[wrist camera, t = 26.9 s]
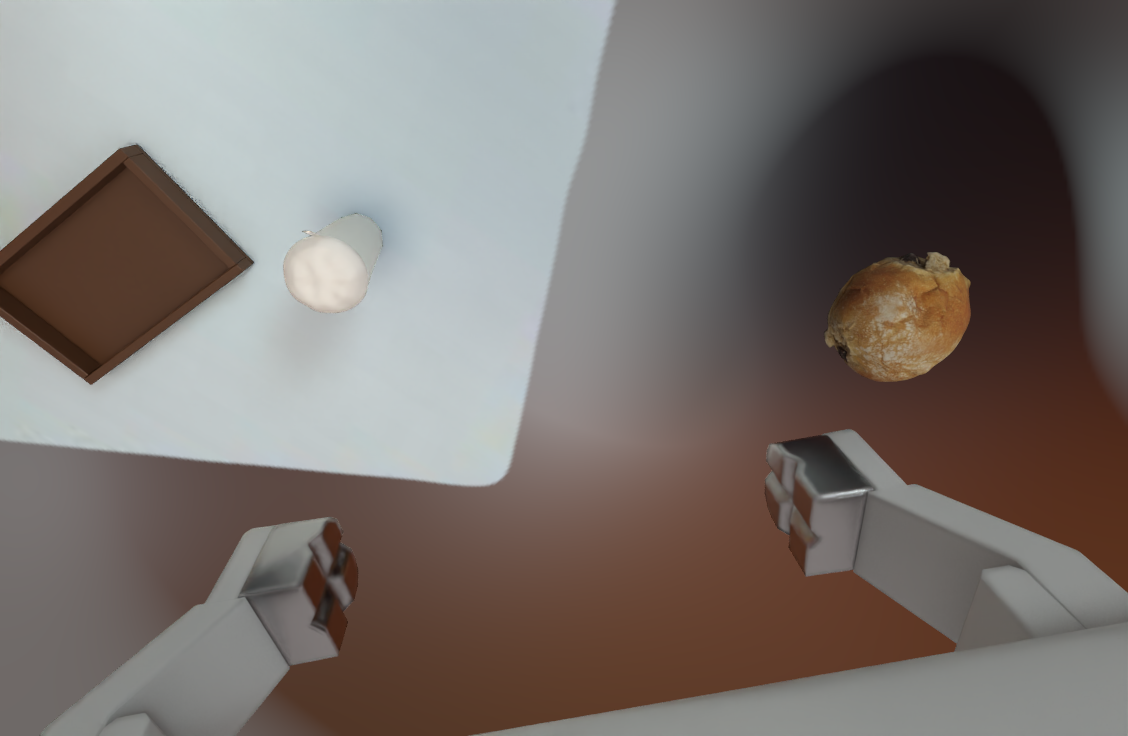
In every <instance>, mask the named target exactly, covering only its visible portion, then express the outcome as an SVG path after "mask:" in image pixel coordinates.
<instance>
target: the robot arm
mask: <svg viewBox="0 0 1128 736" xmlns="http://www.w3.org/2000/svg"><path fill="white" fill-rule="evenodd" d="M766 462H767V463H768V465H769V466H770V468H771V469H772V472H771V473H770V474H769V475H768V477H767V478H766V479H765V496H766V502H767V507H768V510H769V512H770V515H771V517H772V519H773V521H774V523H775V525H776V526H777V528H778V529H779V530H781V531H783V532H785V533H786V534H788V535H789V549H790V551H791V552H792V554H793V556H794V557H795V559H796V561H797V562H798V564H799V566H800V567H801V569H802V571H803V572H804V574H805V576H812V575H818V574H826V573H832V572H840V571H846V570H854V572H855V573H856V574H857V575H859V576H860V577H862V578H863V579H864V580H866V581H867V582H869V583H870V584H872V585H874V586H875V587H876V588H877V589H879V590H880V591H882V592H883V593H885V594H886V595H888V596H889V597H891V598H892V599H893V600H895V601H896V602H898V603H899V604H901V605H902V606H903V607H905V608H906V609H908V610H909V611H911V612H912V613H914V614H915V615H917V616H918V617H919V618H921V619H922V620H924V621H925V622H927V623H928V624H930V625H931V626H932V627H934V628H935V629H937V630H938V631H940V632H941V633H943V634H944V635H945V636H947V637H948V638H950V639H951V640H953V641H954V642H955V643H957V645H956V648H955V651H954V652H951V653H946V654H940V655H933V656H928V657H922V658H916V659H910V660H904V661H899V662H893V663H887V664H881V665H876V666H870V667H864V668H858V669H852V670H846V671H841V672H835V673H829V674H823V675H817V676H812V677H806V678H800V679H795V680H789V681H783V682H777V683H772V684H766V685H760V686H755V687H749V688H743V689H737V690H732V691H726V692H720V693H715V694H709V695H703V696H697V697H692V698H686V699H680V700H674V701H669V702H663V703H657V704H651V705H646V706H640V707H635V708H628V709H623V710H617V711H612V712H605V713H599V714H593V715H588V716H582V717H576V718H570V719H564V720H559V721H553V722H548V723H541V724H535V725H529V726H524V727H519V728H512V729H506V730H501V731H495V732H489V733H483V734H478V735H472V736H1128V593H1127V592H1126V591H1124V589H1122V588H1121V587H1120V586H1119V585H1118V584H1116V583H1115V582H1114V581H1113V580H1112V579H1111V578H1109V577H1108V576H1107V575H1106V574H1105V573H1103V572H1102V571H1101V570H1100V569H1099V568H1098V567H1096V566H1095V565H1094V564H1093V563H1092V562H1091V561H1090V560H1088V559H1087V558H1086V557H1085V556H1084V555H1083V554H1081V553H1080V552H1079V551H1077V550H1074V549H1072V548H1069V547H1067V546H1065V545H1062V544H1060V543H1057V542H1055V541H1052V540H1050V539H1047V538H1045V537H1043V536H1040V535H1038V534H1036V533H1033V532H1030V531H1028V530H1026V529H1023V528H1021V527H1018V526H1016V525H1014V524H1011V523H1009V522H1006V521H1004V520H1001V519H999V518H997V517H994V516H992V515H989V514H987V513H985V512H982V511H980V510H977V509H975V508H972V507H970V506H968V505H965V504H963V503H960V502H958V501H955V500H952V499H951V498H948V497H946V496H943V495H941V494H938V493H936V492H933V491H931V490H929V489H926V488H924V487H921V486H919V485H917V484H913V485H906V484H905V483H904V482H903V481H902V479H900V477H899V476H898V475H897V474H896V473H895V472H894V471H893V470H892V469H891V468H890V467H889V466H888V465H887V464H886V463H885V462H884V461H883V460H882V459H881V458H880V457H879V456H878V455H877V454H876V453H875V451H874V450H873V449H872V448H871V447H870V446H869V445H868V444H867V443H866V442H865V441H864V440H863V439H862V438H861V437H860V436H859V435H858V434H857V433H856V432H855V431H852V430H850V429H847V430H842V431H837V432H831V433H826V434H822V435H818V436H812V437H807V438H801V439H795V440H789V441H783V442H778V443H772V444H769V447H768V449H767V456H766ZM342 534H343V530H342V528H341V526H340V524H339V522H338V520H337V519H335V518H332V517H328V518H320V519H313V520H307V521H300V522H292V523H285V524H279V525H276V526H268V527H261V528H255V529H251V530H249V531H248V532H246V533H245V534H244V535H243V536H242V538H241V540H240V542H239V543H238V545H237V547H236V549H235V551H234V552H233V554H232V556H231V558H230V560H229V561H228V563H227V565H226V567H225V568H224V570H223V572H222V574H221V575H220V577H219V579H218V581H217V583H216V584H215V586H214V588H213V590H212V591H211V593H210V595H209V597H208V599H207V600H206V602H205V604H201V605H196V606H194V607H193V608H192V609H191V610H189V611H188V612H187V613H186V614H184V615H183V616H182V617H181V618H179V619H178V620H177V621H176V622H175V623H173V624H172V625H171V626H170V627H168V628H167V629H166V630H165V631H164V632H162V633H161V634H160V635H159V636H157V637H156V638H155V639H154V640H152V641H151V642H150V643H149V644H147V645H146V646H145V647H144V648H142V649H141V650H140V651H139V652H138V653H136V654H135V655H134V656H133V657H131V658H130V659H129V660H128V661H127V662H125V663H124V664H123V665H122V666H120V667H119V668H118V669H117V670H115V671H114V672H113V673H112V674H110V675H109V676H108V677H107V678H106V679H104V680H103V681H102V682H101V683H99V684H98V685H97V686H96V687H94V688H93V689H92V690H91V691H89V692H88V693H87V694H86V695H85V696H83V697H82V698H81V699H80V700H79V701H77V702H76V703H75V704H74V705H72V706H71V707H70V708H68V709H67V710H66V711H65V712H64V713H62V714H61V715H60V716H59V717H57V718H56V719H55V720H54V721H52V722H51V723H50V724H49V725H48V726H46V728H45V729H44V730H43V732H42V733H41V735H40V736H236V735H237V734H238V732H239V731H240V730H241V729H242V727H243V726H244V725H245V724H246V722H247V721H248V720H249V719H250V717H251V716H252V715H253V714H254V713H255V711H256V710H257V709H258V708H259V706H260V705H261V704H262V703H263V701H264V700H265V699H266V698H267V696H268V695H269V694H270V693H271V691H272V690H273V689H274V688H275V686H276V685H277V684H278V683H279V681H280V680H281V679H282V677H283V676H284V675H285V674H286V673H287V671H288V670H289V669H290V667H289V666H290V665H295V664H300V663H305V662H310V661H315V660H320V659H325V658H330V657H335V656H338V655H339V651H340V647H341V644H342V641H343V637H344V634H345V630H346V627H347V623H348V621H347V619H346V617H345V615H344V613H343V611H344V610H345V609H346V608H347V607H348V606H349V605H350V604H351V603H352V602H353V601H354V599H355V594H356V591H357V587H358V567H357V563H356V558H355V556H354V554H353V551H352V549H351V548H349V547H347V546H346V545H344V544H342V543H341V542H340V540H341V537H342Z"/></svg>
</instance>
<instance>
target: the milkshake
mask: <svg viewBox="0 0 1128 736" xmlns="http://www.w3.org/2000/svg"><path fill="white" fill-rule="evenodd" d="M302 232H304V233H306V234H309V235H310V236H308V237H306V238H304V239H301V240H300V241H298V242H296V243H295V244H294V245H293V246H292V247H291V248H290V250H289V251H288V253H287V254H286V257H285V259H284V264H283V270H284V278H285V282H286V285H287V288H288V289H289V291H290V293H291V294H292V296H293V297H294V298H295V299H296V300H298V301H299V302H301V303H302V304H304V305H306V306H308V307H309V308H311V309H313V310H315V311H318V312H323V313H340V312H344V311H347V310H349V309H351V308H353V307H355V306H356V305H357V304H359V303H360V302H361V301H362V299H363V298H364V296H365V294H366V292H367V288H368V285H369V281H370V278H371V275H372V272H373V269H374V267H375V264H376V262H377V259H378V257H379V254H380V252H381V249H382V247H383V240H382V230H381V229H380V228H379V227H378V226H377V224H376V223H375V222H374V221H373V219H372V218H369V217H366V216H364V215H361V214H358V213H354V214H351V215H347V216H344V217H341V218H339V219H338V220H336V221H334V222H333V223H331V224H329V225H328V226H326V227H324V228H323V229H321V230H319V231H318V232H316V233H314V232H311V231H302Z"/></svg>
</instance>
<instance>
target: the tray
mask: <svg viewBox="0 0 1128 736" xmlns="http://www.w3.org/2000/svg"><path fill="white" fill-rule="evenodd" d="M253 263H254V262H253V261H252V260H251V259H250V258H249V257H248V256H247V255H246V254H245V253H244V252H243V251H242V250H241V249H240V248H239V247H238V246H237V245H236V244H235V243H234V242H233V241H232V240H231V239H230V238H229V237H228V236H227V235H226V234H225V233H224V232H223V231H222V230H221V229H220V228H219V227H218V226H217V225H216V224H215V223H214V222H213V221H212V220H211V219H210V218H209V217H208V216H207V215H206V213H205V212H204V211H203V210H202V209H201V208H200V207H199V206H198V205H197V204H196V203H195V202H194V201H193V200H192V199H191V198H190V197H189V196H188V195H187V194H186V193H185V192H184V191H183V190H182V189H181V188H180V187H179V186H178V185H177V184H176V183H175V182H174V181H173V180H172V179H171V178H170V177H169V176H168V175H167V174H166V173H165V172H164V171H163V170H162V169H161V168H160V167H159V166H158V165H157V164H156V163H155V162H154V161H153V160H152V159H151V158H150V157H149V156H148V155H147V154H146V153H145V152H144V151H143V150H142V149H141V148H140V147H139V146H138V145H133V146H129V147H124V148H120V149H118V150H117V151H116V152H115V153H114V154H113V155H111V156H110V157H109V158H108V159H107V160H106V161H104V162H103V163H102V164H101V165H100V166H99V167H97V168H96V169H95V170H94V171H93V172H92V173H91V174H89V175H88V176H87V177H86V178H85V179H84V180H82V181H81V182H80V183H79V184H78V185H77V186H75V187H74V188H73V189H72V190H71V191H70V192H68V193H67V194H66V195H65V196H64V197H63V198H61V199H60V200H59V201H58V202H57V203H56V204H54V205H53V206H52V207H51V208H50V209H49V210H47V211H46V212H45V213H44V214H43V215H42V216H40V217H39V218H38V219H37V220H36V221H35V222H34V223H32V224H31V225H30V226H29V227H28V228H27V229H25V230H24V231H23V232H22V233H21V234H20V235H18V236H17V237H16V238H15V239H14V240H13V241H11V242H10V243H9V244H8V245H7V246H6V247H4V248H3V249H2V250H1V251H0V316H1V317H2V318H3V319H5V320H6V321H7V322H9V323H10V324H11V325H13V326H14V327H15V328H16V329H18V330H19V331H20V332H22V333H23V334H24V335H26V336H27V337H28V338H30V339H31V340H32V341H34V342H35V343H36V344H38V345H39V346H40V347H42V348H43V349H44V350H46V351H47V352H48V353H50V354H51V355H52V356H53V357H55V358H56V359H57V360H59V361H60V362H61V363H63V364H64V365H65V366H67V367H68V368H69V369H71V370H72V371H73V372H75V373H76V374H77V375H79V376H80V377H81V378H83V379H84V380H85V381H86V382H88V383H89V384H93V383H95V382H96V381H97V380H99V379H100V378H101V377H103V376H104V375H105V374H107V373H108V372H109V371H111V370H112V369H113V368H115V367H116V366H117V365H119V364H120V363H121V362H123V361H124V360H125V359H127V358H128V357H129V356H131V355H132V354H133V353H135V352H136V351H137V350H139V349H140V348H141V347H143V346H144V345H145V344H147V343H148V342H149V341H151V340H152V339H153V338H155V337H156V336H157V335H159V334H160V333H161V332H163V331H164V330H165V329H167V328H168V327H169V326H171V325H172V324H173V323H175V322H176V321H178V320H179V319H180V318H182V317H183V316H184V315H186V314H187V313H188V312H190V311H191V310H192V309H194V308H195V307H196V306H198V305H199V304H200V303H202V302H203V301H204V300H206V299H207V298H208V297H210V296H211V295H212V294H214V293H215V292H216V291H218V290H219V289H220V288H222V287H223V286H224V285H226V284H227V283H228V282H230V281H231V280H232V279H234V278H235V277H236V276H238V275H239V274H240V273H242V272H243V271H244V270H246V269H247V268H248V267H249V266H251V265H252V264H253Z"/></svg>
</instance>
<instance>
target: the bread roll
mask: <svg viewBox="0 0 1128 736" xmlns="http://www.w3.org/2000/svg"><path fill="white" fill-rule="evenodd" d="M927 254H928V256H927V257H926V259H923V258H920V257H918V256H916V255H915V254H913V253H910V254H907V255H905V256H901V257H899V258H894V257H887V258H885V259H883V260H881V261H879V262H877V263H873V264H872V265H870V266H868V267H867V268H865V269H862V270H860V271H859V272H857V273H856V274H854V275H853V276H852V277H851V278H850V280H849V281H848V282H847V283H846V284H845V285H844V286H843V287H842V288H841V289H840V292H839V294H838V296H837V298H836V299H835V300H834V303H833V304H832V306H831V308H830V311H829V313H828V329H827V330H826V331H825V332H824V337H825V342H826V344H827V345H828V346H829V347H832V346H835V348H836V350H837V351H838V352H839V354H840V356H841V357H842V358H843V359H844V361H845V362H846V363H847V365H848V366H849V367H850V368H851V369H853V370H854V371H856V372H857V373H858V374H860V375H862V376H863V377H866V378H868V379H871V380H875V381H882V382H888V381H900V380H907V379H910V378H913V377H915V376H918V375H921V374H925V373H926V372H928V371H929V370H930V369H931V368H932V367H933V366H934V365H936V364H937V363H939V362H940V361H942V360H943V359H944V358H945V357H947V356H948V355H949V354H950V353H951V352H952V351H953V350H954V349H955V347H956V346H957V344H958V343H959V341H960V340H961V338H962V335H963V333H964V331H965V330H966V328H967V325H968V323H969V319H970V314H971V311H970V305H969V286H970V280H968V279H967V278H966V277H964V276H963V275H962V274H961V272H960V270H959V268H951V267H950V264H951V261H950V260H949V259H948V258H947V257H946V256H942V255H941V254H939V253H937V252H934V253H932V252H929V253H927Z"/></svg>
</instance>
